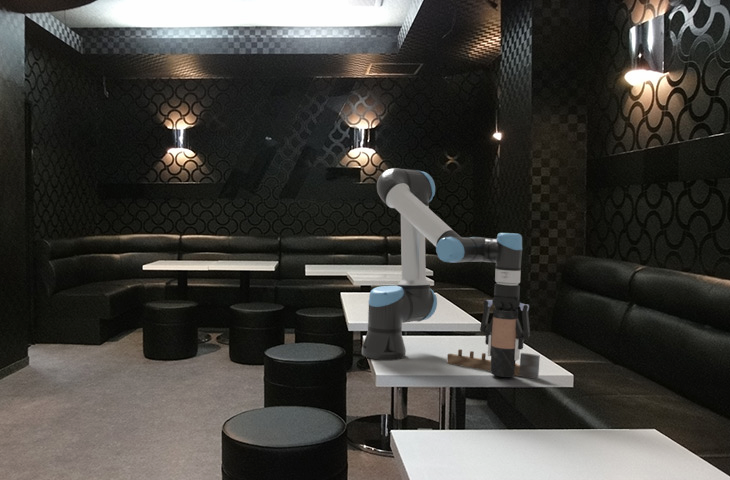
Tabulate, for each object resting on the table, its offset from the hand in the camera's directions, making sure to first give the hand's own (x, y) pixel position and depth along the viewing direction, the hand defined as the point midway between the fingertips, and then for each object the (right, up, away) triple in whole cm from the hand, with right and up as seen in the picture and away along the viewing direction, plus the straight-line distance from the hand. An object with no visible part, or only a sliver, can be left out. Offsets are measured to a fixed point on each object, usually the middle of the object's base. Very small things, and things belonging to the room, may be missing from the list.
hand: (503, 357), depth 185 cm
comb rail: (-2, -6, +8) cm, 10 cm away
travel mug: (0, -5, 0) cm, 5 cm away
